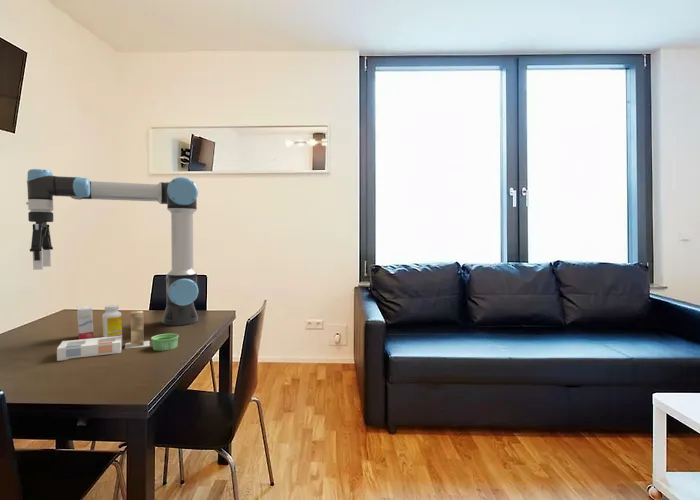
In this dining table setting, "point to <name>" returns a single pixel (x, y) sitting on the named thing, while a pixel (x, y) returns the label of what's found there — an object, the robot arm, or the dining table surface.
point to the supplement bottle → (112, 321)
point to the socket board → (89, 347)
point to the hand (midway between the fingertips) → (42, 268)
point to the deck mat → (128, 345)
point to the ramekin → (164, 341)
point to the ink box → (85, 322)
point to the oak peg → (137, 328)
